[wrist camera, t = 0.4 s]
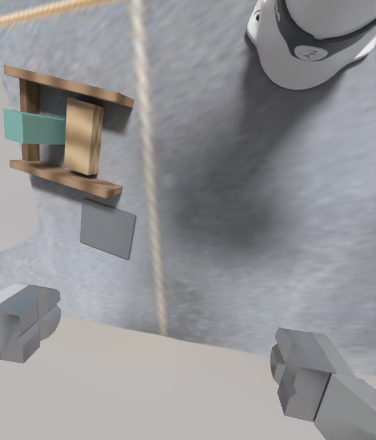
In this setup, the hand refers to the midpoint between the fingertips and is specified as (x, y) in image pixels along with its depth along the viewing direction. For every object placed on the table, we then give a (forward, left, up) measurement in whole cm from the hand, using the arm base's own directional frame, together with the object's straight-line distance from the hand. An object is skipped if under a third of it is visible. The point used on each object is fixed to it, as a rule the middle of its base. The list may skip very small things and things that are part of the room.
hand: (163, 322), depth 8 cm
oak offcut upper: (0, -32, -37) cm, 49 cm away
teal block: (0, -39, -38) cm, 55 cm away
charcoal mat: (+20, -25, -38) cm, 50 cm away
